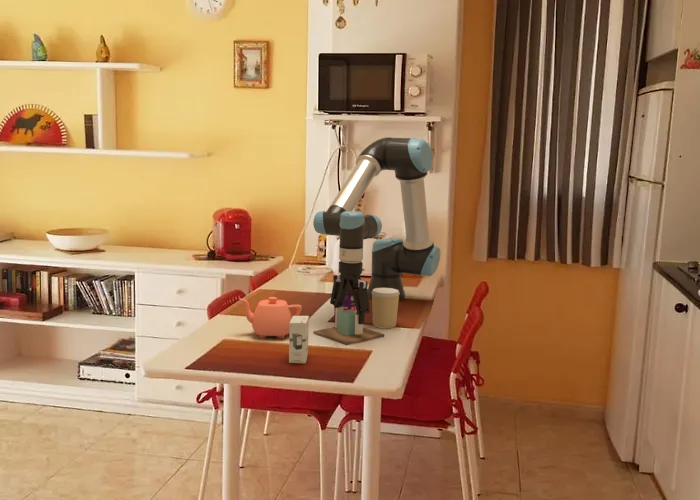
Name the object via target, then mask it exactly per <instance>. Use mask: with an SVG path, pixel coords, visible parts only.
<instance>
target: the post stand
mask: <svg viewBox="0 0 700 500" xmlns="http://www.w3.org/2000/svg"><path fill="white" fill-rule="evenodd" d="M312 332H313V334H314V335H315V336H316V335H317V336H319V337H322V338H324V339H329V340H331V341H334V342H336V343H340V344H342V345H345V346H349V345H353V344H357V343H361V342H366V341H371V340H375V339H379V338H384V337H385V334H384V333H381V332H378V331H375V330H372V329H369V328H366V327H363V333H362V334H357V335H356V334H354V335H349V336H346V335H343V334H341V333H338V332H337V328H335V326H331V327H326V328H321V329H318V330H313V331H312Z"/></svg>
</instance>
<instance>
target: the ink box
mask: <svg viewBox="0 0 700 500" xmlns="http://www.w3.org/2000/svg"><path fill="white" fill-rule="evenodd" d="M309 321H310V316H309V315H299V316H294V315H292V319H291V321H290V323H289V324H290V328H289V333H288V334H289V339H288V350H289V351H288V363H289V364H306V363H307V359H308V356H309V330H310V329H309V327H310V326H309V325H310V322H309Z"/></svg>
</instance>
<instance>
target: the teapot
mask: <svg viewBox="0 0 700 500" xmlns="http://www.w3.org/2000/svg"><path fill="white" fill-rule="evenodd" d="M238 300H239V301H241V303H242V304H243V307H244V312H245V318H246V319H247V320H246V321H247V322H249V323H250V324H251V326H252V329H253V332H254V333H255V334H256V335H257V336H258V338H259V339H266V338H267V337H276V338H277V339H279V338H280V339H279V340H281V338H282V339H285V338H286V337H285V336H287V335H288V334H289V328H290V324H289V323H290V321H291V319H292V317H293V316H301V312H302V310H303V306H302V305H301V304H290V305H289V304H288V302H287V301H286V300H283V299H278V297H276V296H269V297H268V298H267V299H262V300H260V301H259V302H258V304H257V306H256V308H255V311H254V312H252V311H251V307H250V303H249V300H247V299H245V298H240V297H239V298H238ZM291 309H295V313H294V315H292V311H291Z"/></svg>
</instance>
